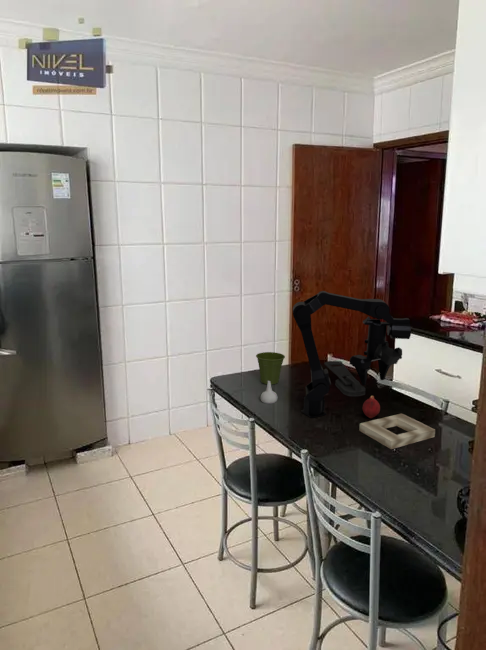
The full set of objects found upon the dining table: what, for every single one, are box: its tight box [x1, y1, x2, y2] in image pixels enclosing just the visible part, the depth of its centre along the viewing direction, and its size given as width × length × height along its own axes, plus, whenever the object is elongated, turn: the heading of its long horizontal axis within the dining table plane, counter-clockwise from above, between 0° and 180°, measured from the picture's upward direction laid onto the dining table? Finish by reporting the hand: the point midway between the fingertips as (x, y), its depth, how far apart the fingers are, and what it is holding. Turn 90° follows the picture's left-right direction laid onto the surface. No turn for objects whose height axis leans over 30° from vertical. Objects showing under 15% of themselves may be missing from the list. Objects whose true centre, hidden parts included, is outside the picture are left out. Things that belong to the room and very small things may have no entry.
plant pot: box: [255, 351, 286, 385], centre depth 198 cm, size 12×12×11 cm
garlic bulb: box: [260, 381, 279, 405], centre depth 178 cm, size 6×6×8 cm
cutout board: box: [358, 413, 436, 450], centre depth 151 cm, size 18×14×2 cm
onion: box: [362, 395, 381, 419], centre depth 162 cm, size 6×6×8 cm
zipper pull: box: [324, 360, 366, 397], centre depth 195 cm, size 9×7×25 cm
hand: (373, 382), depth 163 cm, fingers open, 9 cm apart
